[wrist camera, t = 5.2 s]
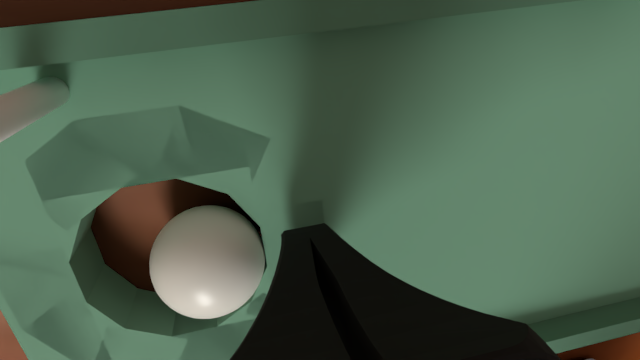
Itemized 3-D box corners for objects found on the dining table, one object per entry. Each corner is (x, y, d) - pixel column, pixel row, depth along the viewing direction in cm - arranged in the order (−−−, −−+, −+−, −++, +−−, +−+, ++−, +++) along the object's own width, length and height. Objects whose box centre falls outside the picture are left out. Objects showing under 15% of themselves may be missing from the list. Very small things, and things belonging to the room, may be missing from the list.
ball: (277, 280, 15) (245, 353, 12) (188, 268, 15) (132, 334, 12) (277, 193, 13) (240, 249, 10) (179, 183, 14) (114, 232, 11)
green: (613, 279, 20) (673, 323, 17) (96, 401, 16) (69, 479, 14) (699, -47, 14) (813, -59, 11) (-83, 36, 10) (-194, 49, 8)
